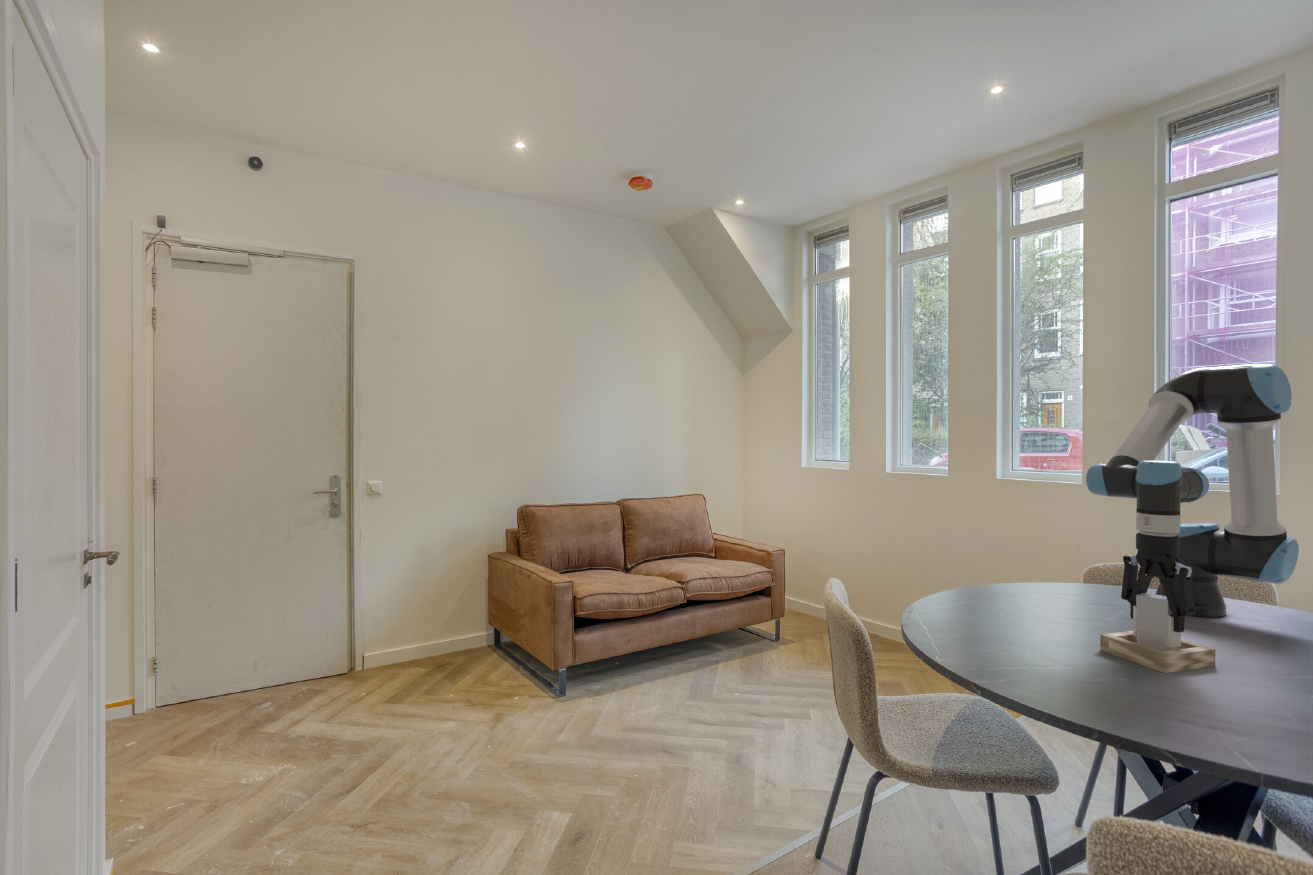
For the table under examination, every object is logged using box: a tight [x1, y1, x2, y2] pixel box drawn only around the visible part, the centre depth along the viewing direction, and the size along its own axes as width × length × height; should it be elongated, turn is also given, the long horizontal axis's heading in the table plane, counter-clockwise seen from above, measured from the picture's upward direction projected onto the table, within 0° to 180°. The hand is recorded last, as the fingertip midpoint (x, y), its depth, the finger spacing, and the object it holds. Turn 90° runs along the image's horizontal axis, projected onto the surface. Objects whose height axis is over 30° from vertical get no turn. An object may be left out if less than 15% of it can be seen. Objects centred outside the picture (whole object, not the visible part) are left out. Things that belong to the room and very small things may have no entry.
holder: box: [1099, 630, 1216, 674], centre depth 142 cm, size 14×14×4 cm
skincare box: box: [1136, 592, 1177, 652], centre depth 142 cm, size 6×4×12 cm
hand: (1156, 640), depth 142 cm, fingers closed on skincare box, 7 cm apart
